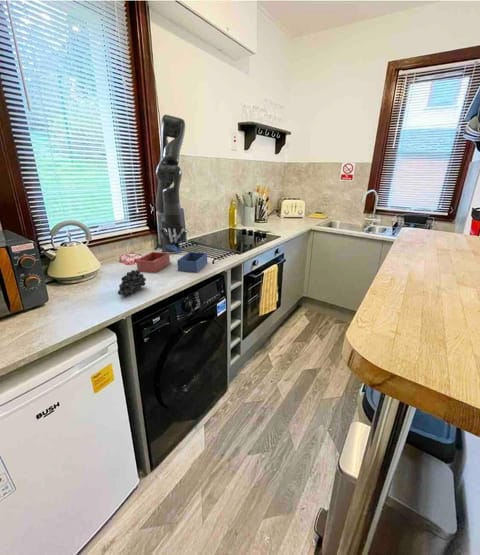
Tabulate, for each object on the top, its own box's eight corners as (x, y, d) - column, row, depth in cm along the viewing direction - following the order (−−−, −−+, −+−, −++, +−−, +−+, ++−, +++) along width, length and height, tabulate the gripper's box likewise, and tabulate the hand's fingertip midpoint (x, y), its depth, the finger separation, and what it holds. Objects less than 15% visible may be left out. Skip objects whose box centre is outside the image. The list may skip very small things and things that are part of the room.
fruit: (120, 279, 104) (143, 265, 117) (104, 283, 107) (129, 269, 120) (130, 299, 106) (151, 283, 120) (114, 302, 110) (137, 287, 123)
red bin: (137, 270, 139) (136, 260, 137) (153, 261, 152) (152, 251, 150) (155, 272, 136) (154, 261, 134) (170, 262, 150) (169, 253, 148)
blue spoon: (173, 247, 123) (174, 242, 123) (165, 247, 124) (166, 241, 124) (183, 253, 134) (184, 248, 134) (176, 252, 135) (176, 247, 135)
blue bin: (178, 270, 139) (177, 260, 137) (190, 261, 152) (189, 251, 150) (196, 272, 136) (196, 261, 134) (207, 263, 150) (207, 253, 148)
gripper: (189, 212, 125) (192, 248, 131) (163, 210, 128) (166, 246, 134) (182, 214, 118) (185, 253, 125) (154, 213, 121) (158, 250, 128)
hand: (175, 249), depth 130 cm, fingers closed on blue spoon, 1 cm apart
